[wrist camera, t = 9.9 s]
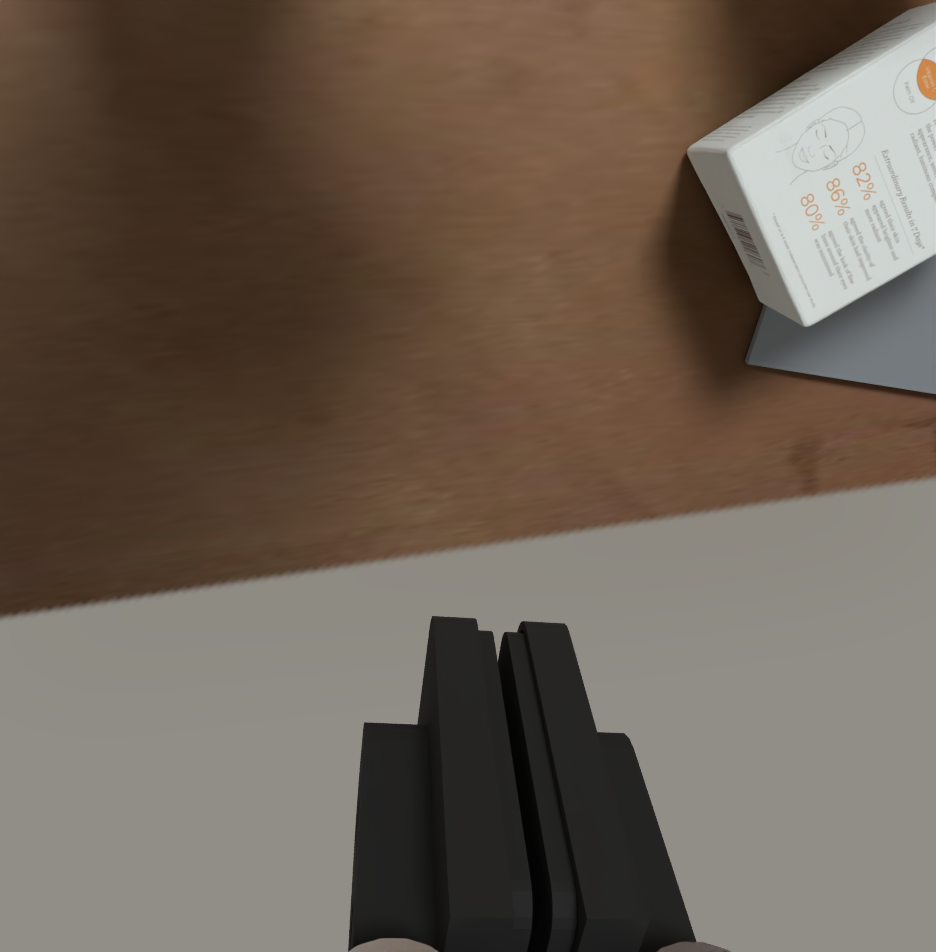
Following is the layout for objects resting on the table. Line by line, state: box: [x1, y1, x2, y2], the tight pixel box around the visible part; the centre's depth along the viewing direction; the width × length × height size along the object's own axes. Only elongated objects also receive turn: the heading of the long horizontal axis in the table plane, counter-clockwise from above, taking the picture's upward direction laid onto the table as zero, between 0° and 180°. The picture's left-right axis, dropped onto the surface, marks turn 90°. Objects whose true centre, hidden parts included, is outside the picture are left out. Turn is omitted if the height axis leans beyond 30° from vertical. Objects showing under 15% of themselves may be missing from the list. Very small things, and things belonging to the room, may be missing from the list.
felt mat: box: [745, 255, 936, 394], centre depth 40 cm, size 8×12×1 cm, turn 80°
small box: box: [687, 2, 936, 327], centre depth 34 cm, size 8×6×10 cm
